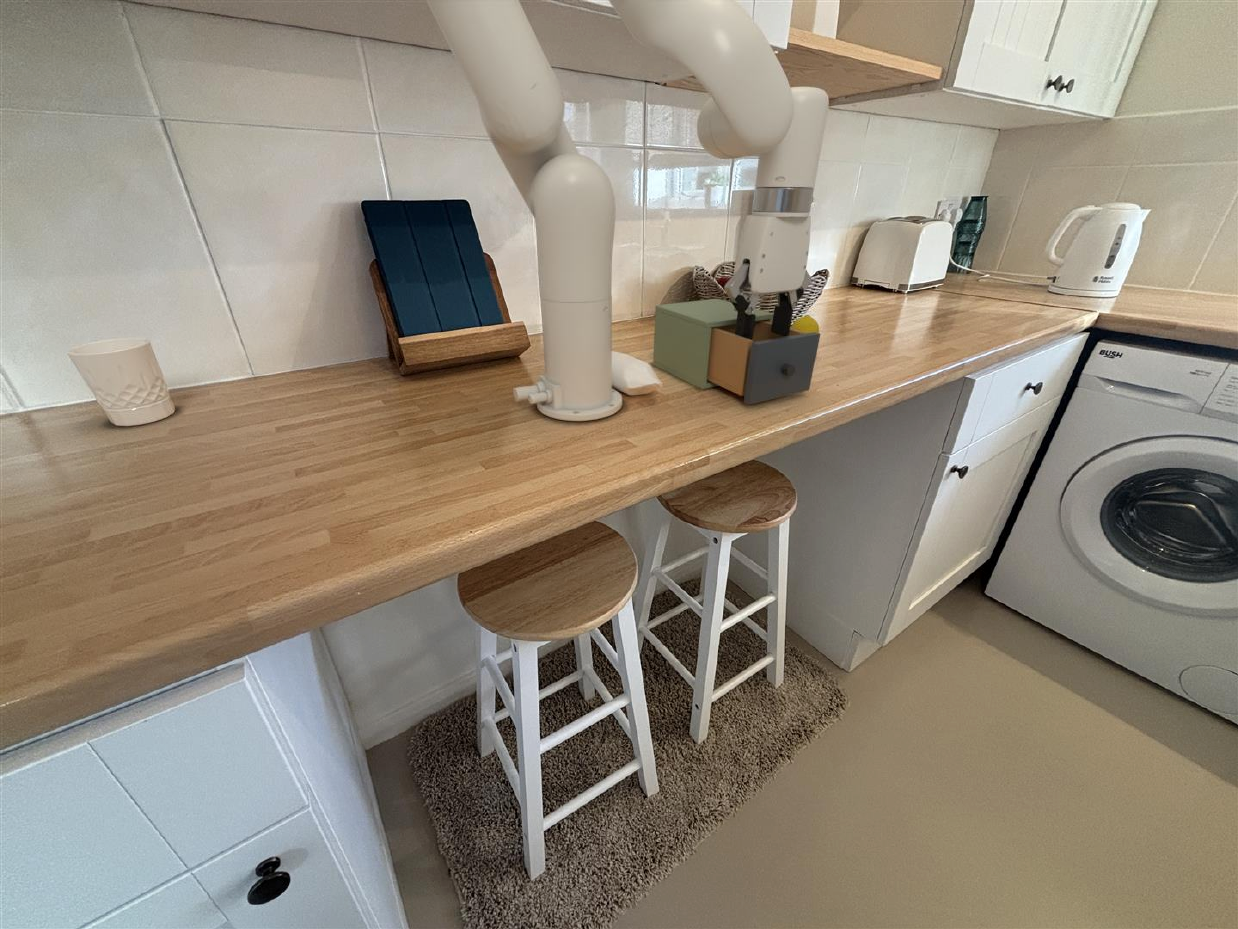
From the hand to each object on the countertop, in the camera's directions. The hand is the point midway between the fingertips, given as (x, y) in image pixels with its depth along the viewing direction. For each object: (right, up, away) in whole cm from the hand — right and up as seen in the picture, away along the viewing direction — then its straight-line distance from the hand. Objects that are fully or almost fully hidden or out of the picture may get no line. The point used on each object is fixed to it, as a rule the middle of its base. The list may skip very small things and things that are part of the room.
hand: (761, 336), depth 74 cm
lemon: (+13, +1, +21) cm, 25 cm away
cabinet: (-6, -3, +13) cm, 15 cm away
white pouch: (-20, -9, +3) cm, 22 cm away
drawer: (0, -7, +4) cm, 8 cm away
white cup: (-88, -13, -6) cm, 89 cm away
